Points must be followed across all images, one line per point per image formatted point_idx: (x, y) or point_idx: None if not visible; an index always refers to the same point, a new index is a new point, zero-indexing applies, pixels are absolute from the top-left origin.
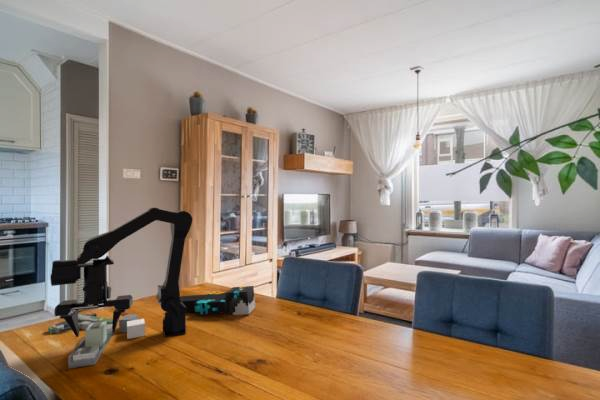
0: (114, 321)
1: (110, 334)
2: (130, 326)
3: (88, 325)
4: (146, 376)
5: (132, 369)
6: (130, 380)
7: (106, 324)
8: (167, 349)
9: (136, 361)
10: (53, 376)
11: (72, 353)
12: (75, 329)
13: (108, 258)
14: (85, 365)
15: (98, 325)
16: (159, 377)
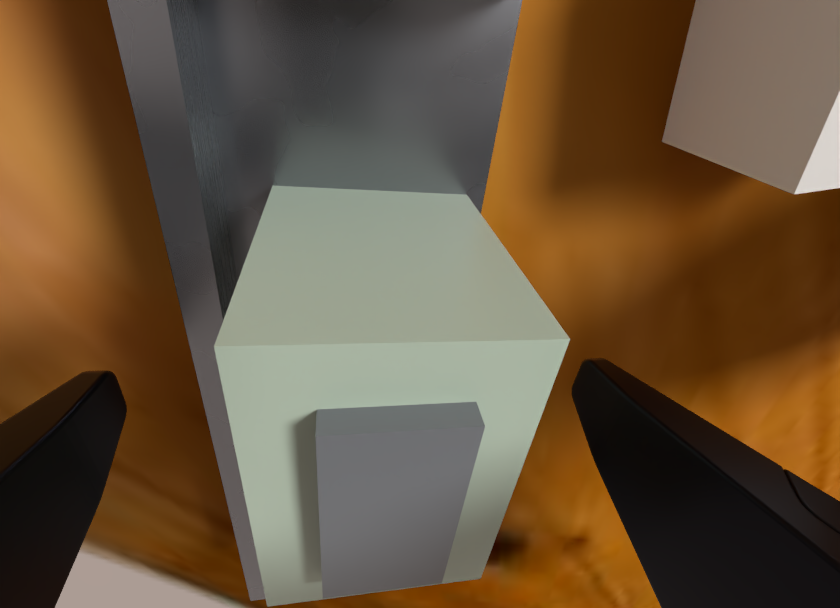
0: (685, 606)
1: (511, 30)
2: (831, 182)
3: None
4: (611, 580)
5: (579, 547)
6: (557, 593)
7: (538, 302)
8: (791, 425)
9: (611, 501)
10: (218, 561)
11: (258, 572)
12: (53, 586)
13: None
14: None
15: (439, 557)
16: (645, 585)
